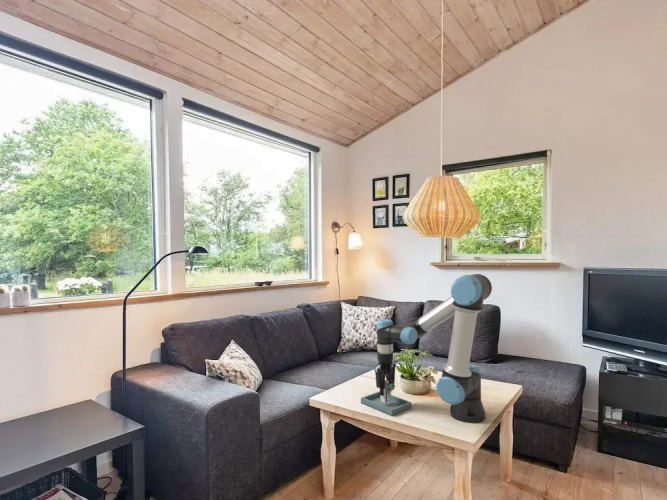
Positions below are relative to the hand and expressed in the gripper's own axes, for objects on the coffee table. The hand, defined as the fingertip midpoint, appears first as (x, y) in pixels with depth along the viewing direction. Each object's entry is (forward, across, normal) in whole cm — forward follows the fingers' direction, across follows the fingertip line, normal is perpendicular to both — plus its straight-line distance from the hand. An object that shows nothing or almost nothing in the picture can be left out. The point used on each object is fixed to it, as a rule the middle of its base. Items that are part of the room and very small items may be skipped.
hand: (385, 400), depth 185 cm
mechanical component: (+1, 0, 0) cm, 1 cm away
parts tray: (+2, 0, 0) cm, 2 cm away
